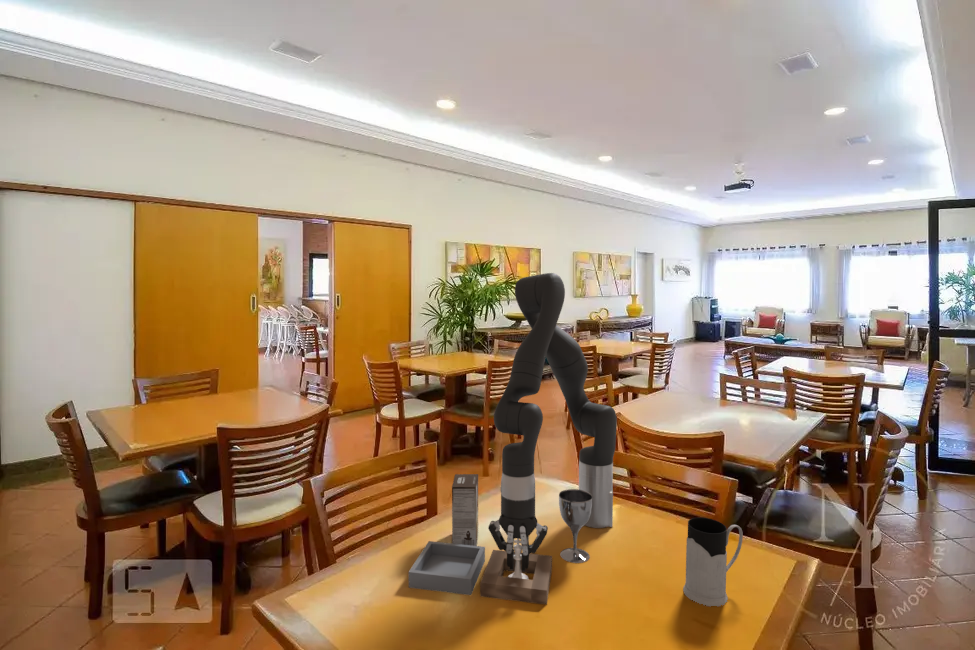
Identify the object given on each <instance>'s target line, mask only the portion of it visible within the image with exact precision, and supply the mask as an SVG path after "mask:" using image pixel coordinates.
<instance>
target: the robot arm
mask: <svg viewBox="0 0 975 650" xmlns="http://www.w3.org/2000/svg"><path fill="white" fill-rule="evenodd" d="M565 295H566V289H565V285H564V281H563V279H562V278H561V276H560V275H558V274H557V273H554V272H549V273H547V272H546V273H541V274H534V275H531V276H530V275H528V276H524V277H522V278H519V279H518V280H517V281H516V284H515V286H514V296H515V300H516V303H517V306H518V307H519V310H520V311H521V313H522V315H523V316H524V318H525V320H526V322H527V323H528V325H529V327H530V328H531V330H530V331H529V333H528V334H527V335H526V336H525V338H524V339H523V341H522V342H521V343H520V345H519V347H518V348H517V350H516V352H515V355H514V358H513V362H512V366H511V372H510V375H509V381H508V382H507V385H506V387H505V389H504V392H503V393H502V396H501V398H500V399H499V401H498V402H497V405H496V407H495V410H494V413H493V423H494V428H495V429H496V431H498V432H499V433H502V434H506V435H507V434H508V435H509V434H510V435H517V436H523V439H522V441H520V442H513V443H512V442H511V443H508V444H506V445H504V446H503V448H502V453H501V457H502V459H501V460H502V461H501V464H502V465H501V467H502V468H501V480H500V516H499V518H498V519H497V520H491V521H490V522H489V525H488V527H487V528H488V531H489V533H490V535H491V537H492V538H493V540H494V543H495V544H496V546H497V548H498V549H499V550H501V551H506V552H507V566H508V567H510V570H513V568H514V558H513V556H514V552H515V550H514V545H515V544H514V540H515V539H517V538H519V540H521V543H520V545H522V551H521V553H522V571H525V569H527V568H528V566H529V554H537V551H538V550H539V548H540V546H541V544H542V543H543V541H544V540H545V538H546V537H547V535H548V529H549V527H548V526H547V525H542V524H540V523H539V522H538V519H537V517H536V478H535V453H536V447H537V443H538V439H539V435H540V432H541V429H542V425H543V420H544V416H543V411H542V409H541V408H540V406H539V404H536V403H533V402H523V401H522V402H520V400H521V399H522V398H524V397H528V396H533V395H536V394H538V393H539V392H540V389H541V383H542V377H543V374H544V369H545V368H544V367H545V362H546V360H547V362H548V365H549V367H550V370H551V371H552V373H553V375H554V378H555V380H556V381H557V383H558V386H559V388H560V390H561V393H562V396H563V397H564V400H565V403H566V406H567V408H568V412H569V415H570V418H571V421H572V424H573V427H574V428H575V429H576V432H578V433H580V434H582V435H585V436H587V437H590V438H591V437H592V438H594V439H593V440H594V441H593V445H589V446H584V447H582V448H581V449H580V450H579V456H578V458H579V459H578V469H579V470H578V471H579V472H578V490H583V491H586V492H588V493H590V494H591V495H592V509H591V514H590V518H589V520H588V522H587V523H586V524H585V525H584V526H586V527H589V528H594V529H603V528H608V527H609V528H610V527H611V528H612V527H613V524H614V523H613V521H614V520H613V519H614V516H613V515H614V514H613V512H614V511H613V509H614V508H613V507H614V491H613V487H614V486H613V485H614V484H613V483H614V482H613V478H614V476H613V475H614V473H613V472H614V455H615V452H616V445H617V444H616V443H617V429H618V418H617V413H616V411H615V409H614V408H613V407H612V406H610V405H606V404H601V403H595V402H592V401H590V400H589V398H588V396H587V394H586V392H585V382H586V379H587V378H588V377H587V376H588V371H589V367H588V362H587V359H586V357H585V355H584V352H583V350H582V348H581V346H580V344H579V342H577V341H576V339H575V338H574V337H573V336H572V335H570V334H569V333H567V331H566V330H564V329H563V328H561V327H560V326H558V321H559V318H560V314H561V312H562V309H563V307H564V301H565ZM501 528H502V530H503V531H504V533H505V534H506V536H507V537H506V538H507V539H506V540H505V538H504V537H503V533H501V530H500V529H501ZM534 530H536V531H535V534H536V537H535V539H534V541H533V542H532V544H530V535H531V534H532V533H533V532H534Z"/></svg>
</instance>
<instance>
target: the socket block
mask: <svg viewBox="0 0 975 650" xmlns="http://www.w3.org/2000/svg"><path fill="white" fill-rule="evenodd" d="M522 553H523V552H521V554H520V555H522ZM514 555H515V551H514ZM520 563H521V571H522V559H521V560H520ZM515 564H516V560H515V559H514V568H513V570H510V567H508V566H507V552H506V551H505V550H498V549H492V552H491V554H490V556H489V559H488V562H487V565H486V567H485V568H484V569H485V570H484V573H483V575H482V578H481V580H480V592H479V594H480V595H479V596H480V597H483V598H488V599H489V598H492V599H498V600H506V601H507V600H508V601H513V602H514V601H515V602H523V603H531V604H537V605H538V604H539V605H548V599H549V592H550V586H551V579H552V578H551V577H552V572H553V555H549V554H548V555H547V554H538V553H530V554H529V566H528V568H527V569H525V571H522V573H523V574H531V575H533V577H532V579H520V578H512V577H508V576H504V572H512V573H514V571H515Z"/></svg>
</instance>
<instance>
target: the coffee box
mask: <svg viewBox="0 0 975 650" xmlns="http://www.w3.org/2000/svg"><path fill="white" fill-rule="evenodd" d="M451 521H452V522H451V524H452V527H451V528H452V529H451V532H452V533H451V536H452V537H451V539H452V540H451V541H452V543H453V544H462V545H472V546H478V539H479V538H478V537H479V474H477V473H476V474H474V473H473V474H472V473H470V474H466V473H463V474H461V473H460V474H458V473H456V474H455V475H454V477H453V482H452V485H451Z"/></svg>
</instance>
